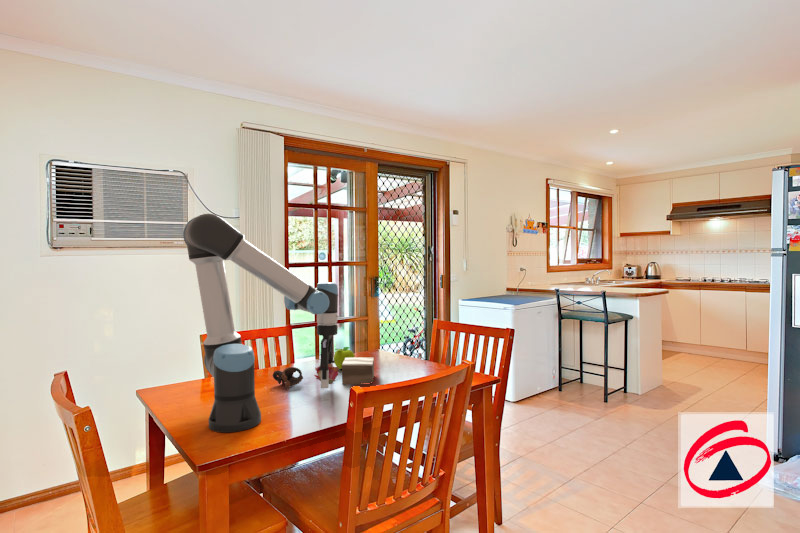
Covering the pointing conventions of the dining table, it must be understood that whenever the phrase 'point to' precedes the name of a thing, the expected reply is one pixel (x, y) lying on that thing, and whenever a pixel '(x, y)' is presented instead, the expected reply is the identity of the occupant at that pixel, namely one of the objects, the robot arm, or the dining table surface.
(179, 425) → the dining table surface
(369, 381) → the pedestal
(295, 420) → the dining table surface
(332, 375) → the flower
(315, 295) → the robot arm
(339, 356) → the fruit
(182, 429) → the dining table surface
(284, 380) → the pottery mug
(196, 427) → the dining table surface
